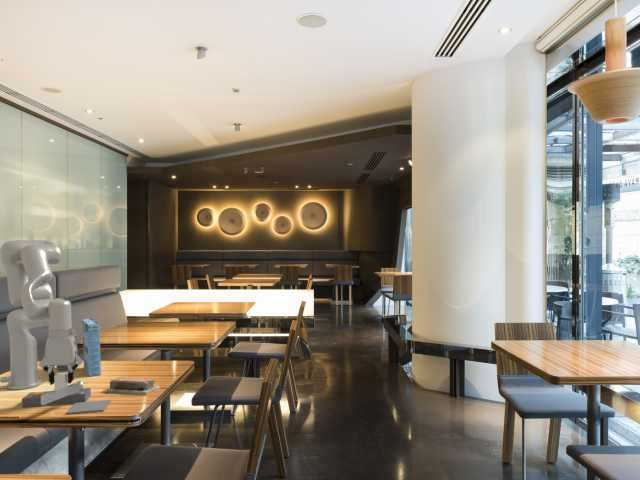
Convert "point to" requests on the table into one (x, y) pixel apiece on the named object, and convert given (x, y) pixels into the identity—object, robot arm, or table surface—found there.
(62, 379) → the plug
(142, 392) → the packaged product
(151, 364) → the table surface
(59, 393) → the grey long bar
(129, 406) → the table surface
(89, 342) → the gum box
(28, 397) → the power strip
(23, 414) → the table surface
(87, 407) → the mat
